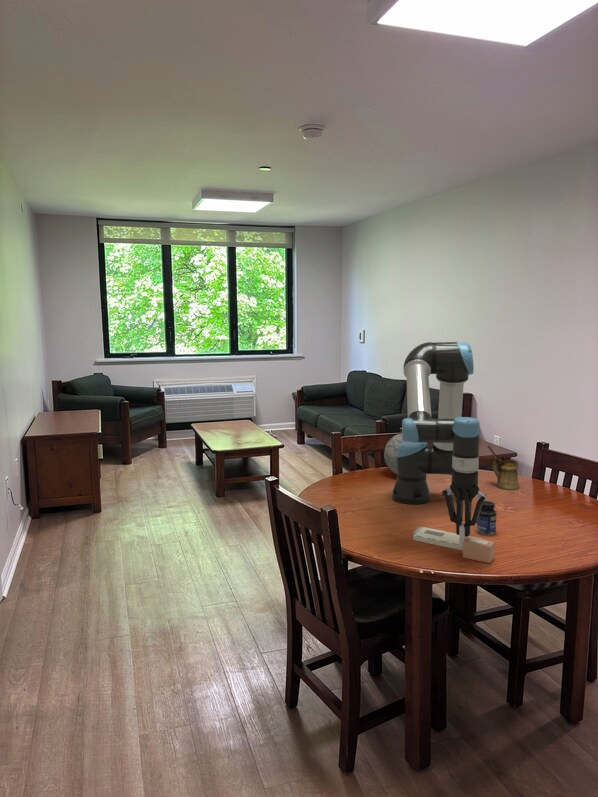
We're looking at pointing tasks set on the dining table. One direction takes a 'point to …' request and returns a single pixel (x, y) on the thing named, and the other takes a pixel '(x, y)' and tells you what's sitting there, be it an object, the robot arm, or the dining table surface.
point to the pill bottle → (487, 519)
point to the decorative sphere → (392, 452)
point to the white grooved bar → (438, 538)
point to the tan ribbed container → (505, 473)
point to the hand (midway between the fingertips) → (462, 545)
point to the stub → (478, 549)
